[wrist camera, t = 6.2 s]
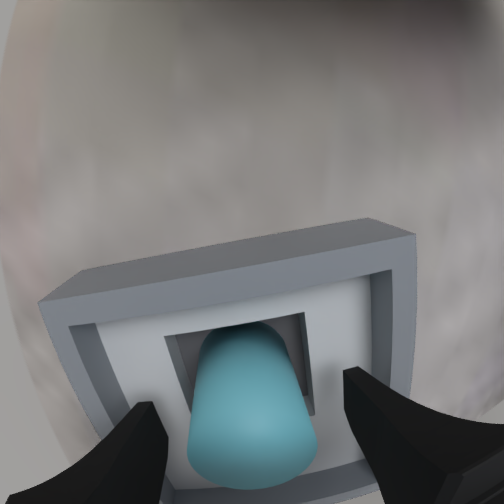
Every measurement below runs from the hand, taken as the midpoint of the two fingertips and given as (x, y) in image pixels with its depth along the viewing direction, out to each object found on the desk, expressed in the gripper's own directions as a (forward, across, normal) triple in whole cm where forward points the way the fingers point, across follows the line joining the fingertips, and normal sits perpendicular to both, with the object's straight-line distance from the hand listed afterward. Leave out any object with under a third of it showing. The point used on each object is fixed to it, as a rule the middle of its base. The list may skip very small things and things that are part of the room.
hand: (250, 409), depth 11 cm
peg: (+3, 0, 0) cm, 3 cm away
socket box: (+4, 0, +2) cm, 4 cm away
